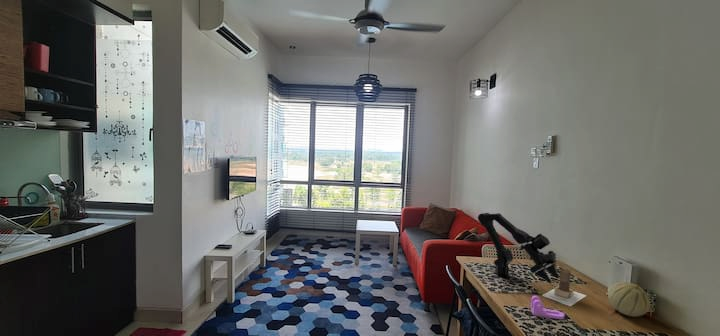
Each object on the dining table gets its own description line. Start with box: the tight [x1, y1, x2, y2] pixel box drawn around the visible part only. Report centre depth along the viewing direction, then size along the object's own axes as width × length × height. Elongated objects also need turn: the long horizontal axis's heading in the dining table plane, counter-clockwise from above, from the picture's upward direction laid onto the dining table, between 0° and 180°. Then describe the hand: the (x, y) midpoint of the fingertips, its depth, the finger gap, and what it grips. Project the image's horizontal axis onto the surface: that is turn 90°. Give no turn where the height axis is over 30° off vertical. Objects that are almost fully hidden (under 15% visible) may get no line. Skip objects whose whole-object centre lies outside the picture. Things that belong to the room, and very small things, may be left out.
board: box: [541, 285, 587, 307], centre depth 160 cm, size 20×13×1 cm, turn 126°
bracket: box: [530, 295, 565, 320], centre depth 142 cm, size 13×6×7 cm, turn 73°
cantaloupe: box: [607, 281, 651, 318], centre depth 144 cm, size 15×15×15 cm
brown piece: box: [554, 268, 574, 299], centre depth 159 cm, size 7×6×13 cm
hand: (554, 280), depth 163 cm, fingers open, 9 cm apart
